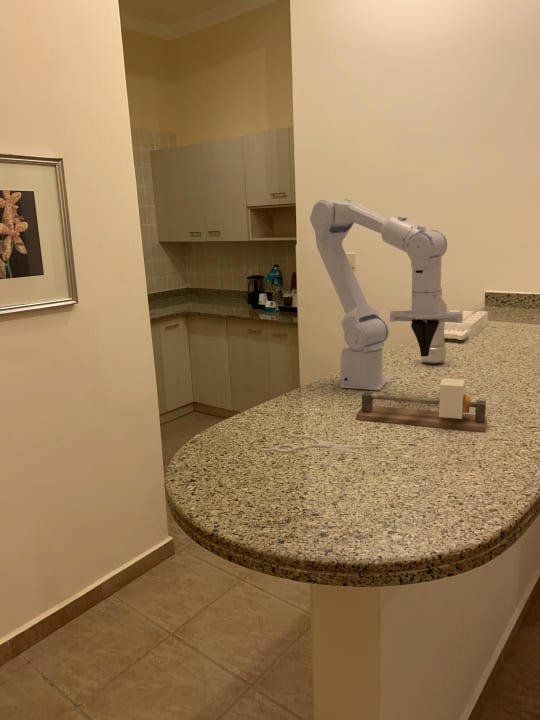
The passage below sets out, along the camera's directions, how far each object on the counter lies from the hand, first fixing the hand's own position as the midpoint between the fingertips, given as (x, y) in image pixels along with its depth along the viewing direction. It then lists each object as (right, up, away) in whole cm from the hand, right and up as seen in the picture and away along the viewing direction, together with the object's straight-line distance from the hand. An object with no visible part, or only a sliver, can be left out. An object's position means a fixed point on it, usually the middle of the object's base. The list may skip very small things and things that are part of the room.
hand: (424, 355), depth 114 cm
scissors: (-23, -17, -20) cm, 35 cm away
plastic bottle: (+11, -2, +30) cm, 32 cm away
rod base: (-4, -13, -10) cm, 17 cm away
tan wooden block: (+1, -11, -13) cm, 17 cm away
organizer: (+30, +8, +66) cm, 73 cm away
